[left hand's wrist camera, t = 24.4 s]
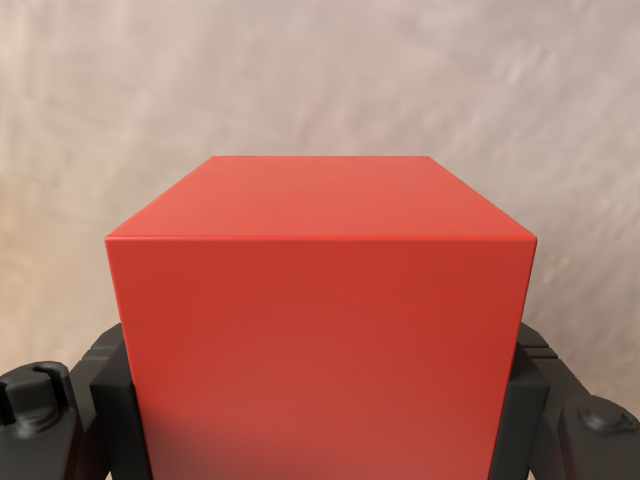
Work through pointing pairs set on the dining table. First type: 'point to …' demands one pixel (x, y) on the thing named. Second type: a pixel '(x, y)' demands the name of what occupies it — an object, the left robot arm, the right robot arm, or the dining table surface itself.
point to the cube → (320, 319)
